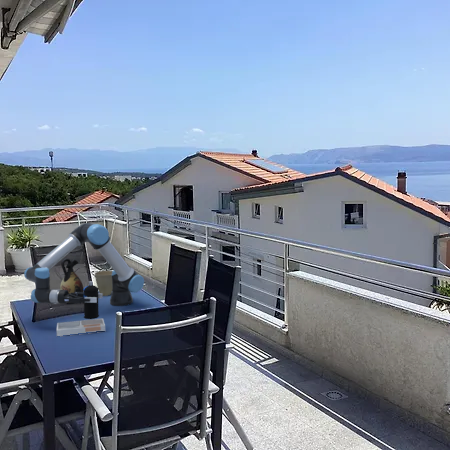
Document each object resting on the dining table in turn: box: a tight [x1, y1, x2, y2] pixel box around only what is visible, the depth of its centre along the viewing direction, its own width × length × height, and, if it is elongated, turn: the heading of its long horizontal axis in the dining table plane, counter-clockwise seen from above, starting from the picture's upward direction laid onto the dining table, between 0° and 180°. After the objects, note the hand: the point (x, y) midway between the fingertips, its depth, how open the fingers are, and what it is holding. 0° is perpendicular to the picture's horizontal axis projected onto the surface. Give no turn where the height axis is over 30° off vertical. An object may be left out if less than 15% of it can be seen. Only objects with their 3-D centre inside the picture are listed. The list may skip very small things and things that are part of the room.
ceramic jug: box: [59, 257, 85, 304], centre depth 306 cm, size 17×15×30 cm
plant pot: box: [94, 270, 113, 297], centre depth 325 cm, size 15×15×16 cm
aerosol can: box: [83, 280, 100, 320], centre depth 251 cm, size 8×8×20 cm
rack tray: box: [56, 318, 106, 337], centre depth 251 cm, size 25×13×4 cm, turn 109°
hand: (99, 297), depth 251 cm, fingers closed on aerosol can, 8 cm apart
